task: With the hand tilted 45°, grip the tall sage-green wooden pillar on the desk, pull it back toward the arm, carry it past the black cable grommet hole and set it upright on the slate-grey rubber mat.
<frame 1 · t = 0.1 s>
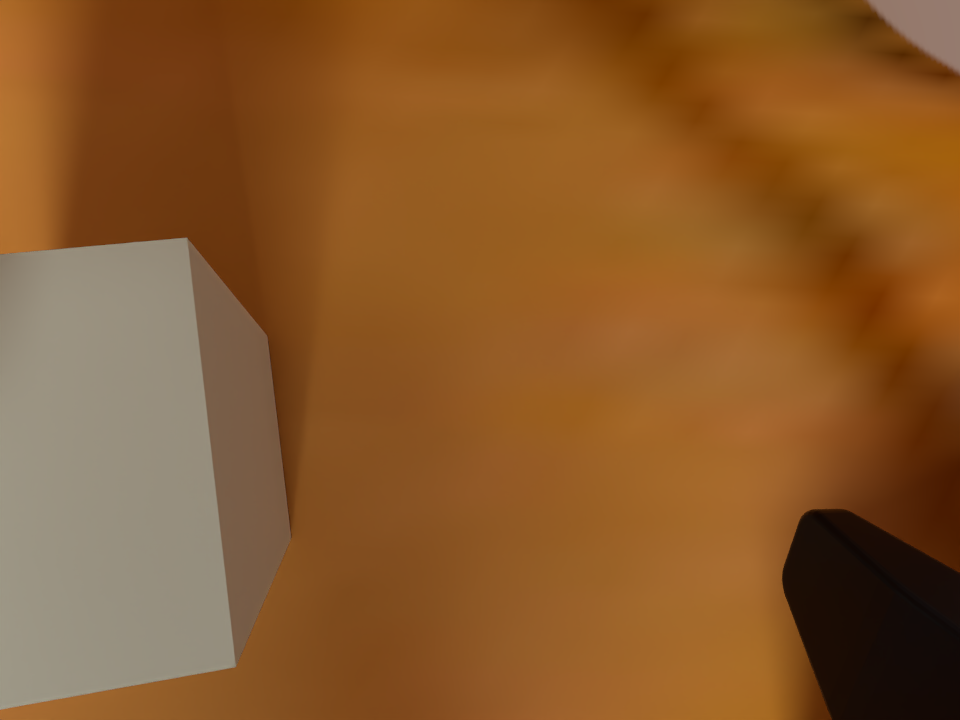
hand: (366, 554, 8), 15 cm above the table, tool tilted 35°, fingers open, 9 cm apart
sage pillar: (173, 450, 22), on the table
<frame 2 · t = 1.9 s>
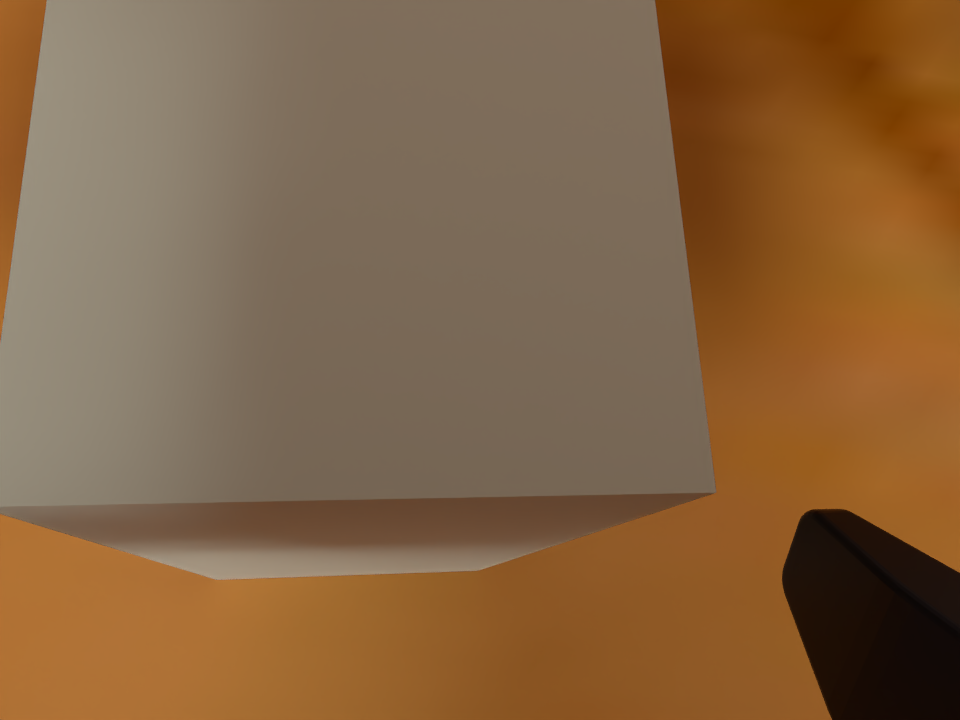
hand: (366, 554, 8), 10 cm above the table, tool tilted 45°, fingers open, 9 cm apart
sage pillar: (351, 447, 18), on the table
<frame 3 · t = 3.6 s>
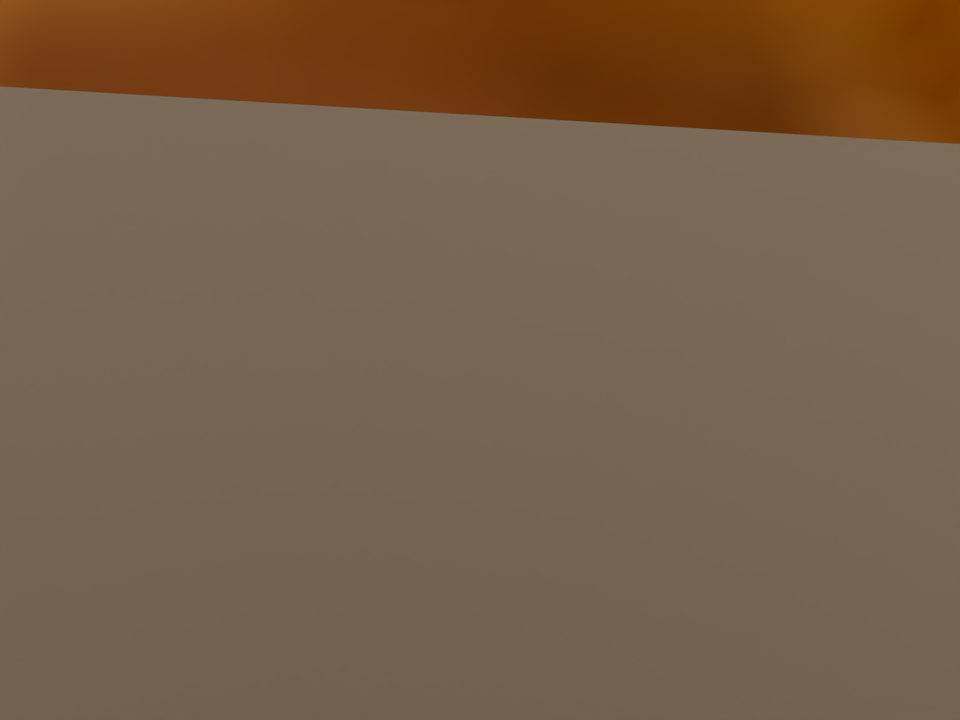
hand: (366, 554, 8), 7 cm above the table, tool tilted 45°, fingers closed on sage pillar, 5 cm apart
sage pillar: (353, 664, 14), on the table, touching gripper
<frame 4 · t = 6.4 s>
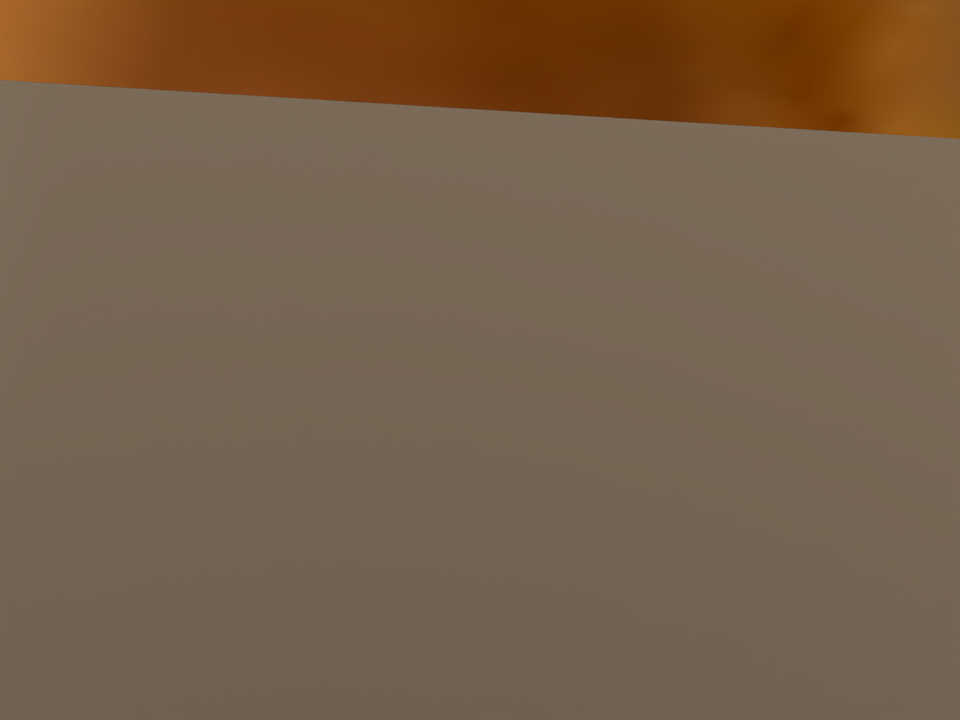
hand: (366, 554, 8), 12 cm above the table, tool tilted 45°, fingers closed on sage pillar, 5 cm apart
sage pillar: (353, 662, 14), point 5 cm above the table, touching gripper
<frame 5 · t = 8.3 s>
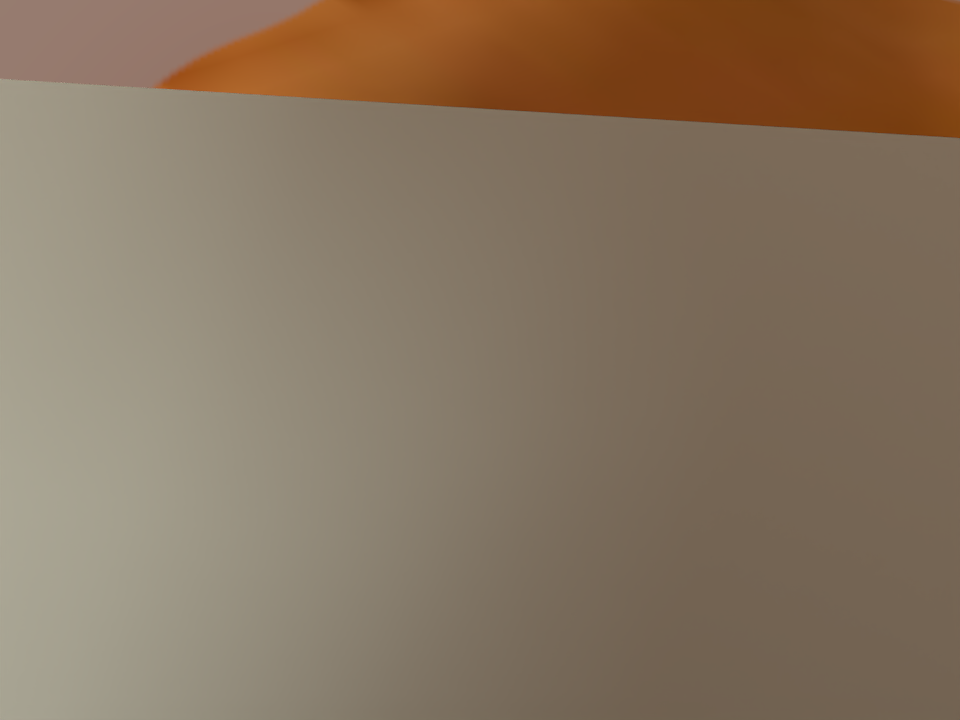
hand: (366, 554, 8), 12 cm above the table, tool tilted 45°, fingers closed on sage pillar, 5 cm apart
sage pillar: (353, 662, 14), point 6 cm above the table, touching gripper
when the fingers open (8 cm above the table, at t = 9.5 s): sage pillar drops 1 cm, resting on slate mat.
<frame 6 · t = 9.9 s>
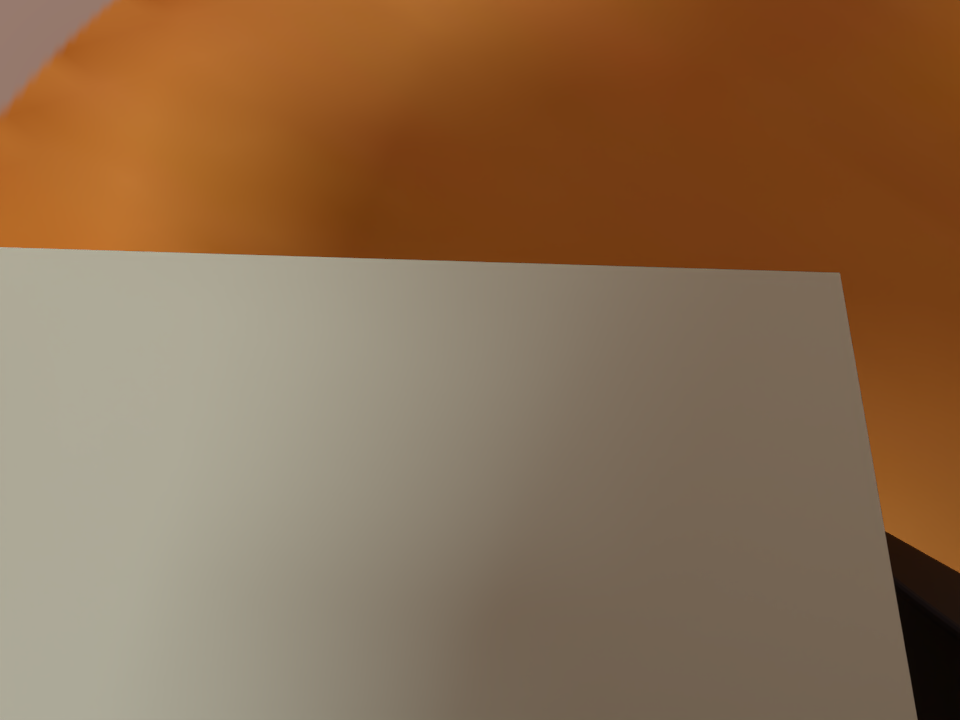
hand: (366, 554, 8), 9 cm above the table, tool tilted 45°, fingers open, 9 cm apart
sage pillar: (351, 658, 15), resting on slate mat
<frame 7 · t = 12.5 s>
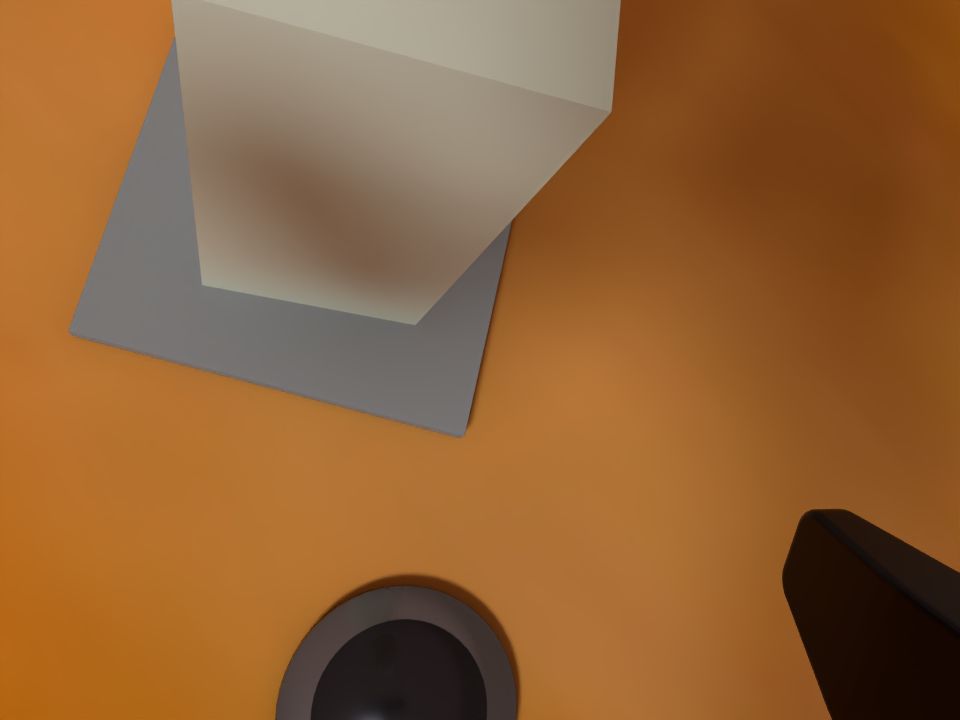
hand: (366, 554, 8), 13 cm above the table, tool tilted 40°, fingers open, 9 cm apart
sage pillar: (328, 207, 22), resting on slate mat
slate mat: (326, 214, 22), on the table
cable grommet: (399, 710, 20), on the table
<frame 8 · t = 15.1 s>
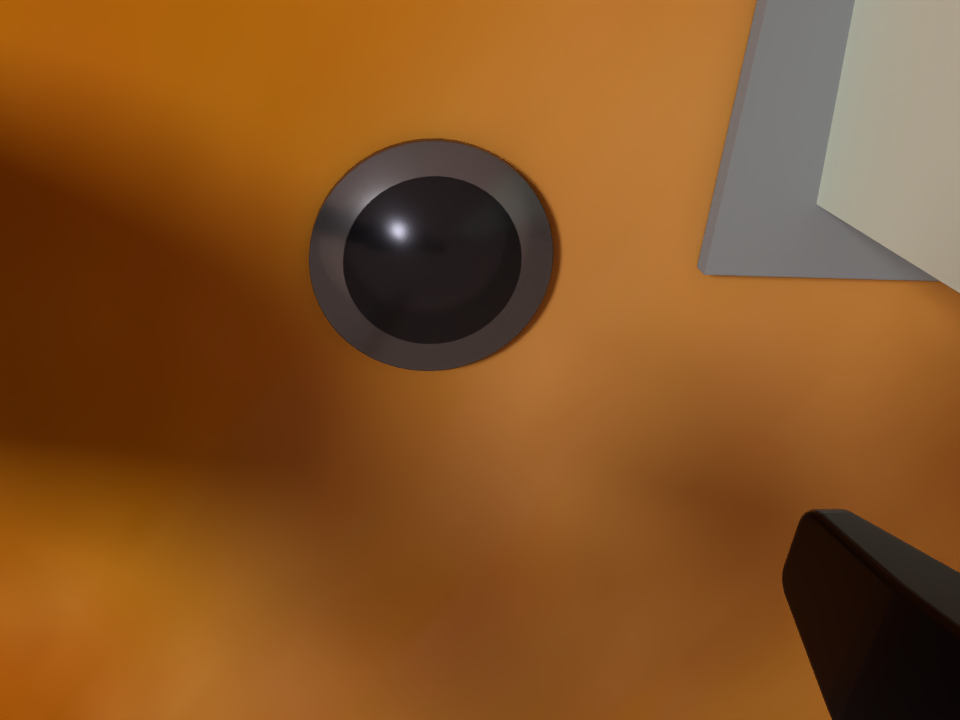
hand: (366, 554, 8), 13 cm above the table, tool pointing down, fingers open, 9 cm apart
sage pillar: (945, 86, 20), resting on slate mat
slate mat: (931, 82, 20), on the table
cable grommet: (432, 259, 20), on the table
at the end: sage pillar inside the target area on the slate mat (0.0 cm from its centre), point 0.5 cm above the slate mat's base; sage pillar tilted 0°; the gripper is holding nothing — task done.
